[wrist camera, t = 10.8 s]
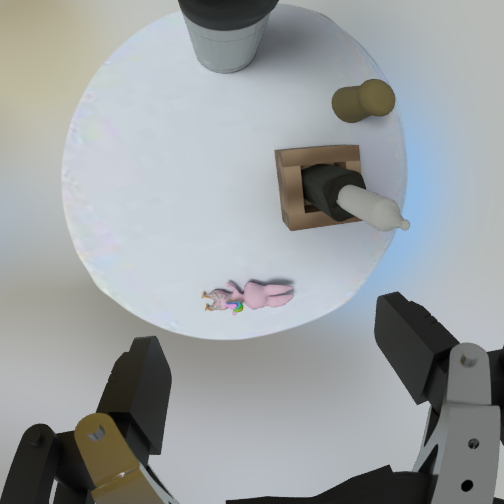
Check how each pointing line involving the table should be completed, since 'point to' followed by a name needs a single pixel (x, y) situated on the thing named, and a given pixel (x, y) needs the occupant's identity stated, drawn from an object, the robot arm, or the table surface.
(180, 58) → the table surface
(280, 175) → the box
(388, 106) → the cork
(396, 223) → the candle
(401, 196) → the table surface
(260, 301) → the pink rainbow-tailed figurine
